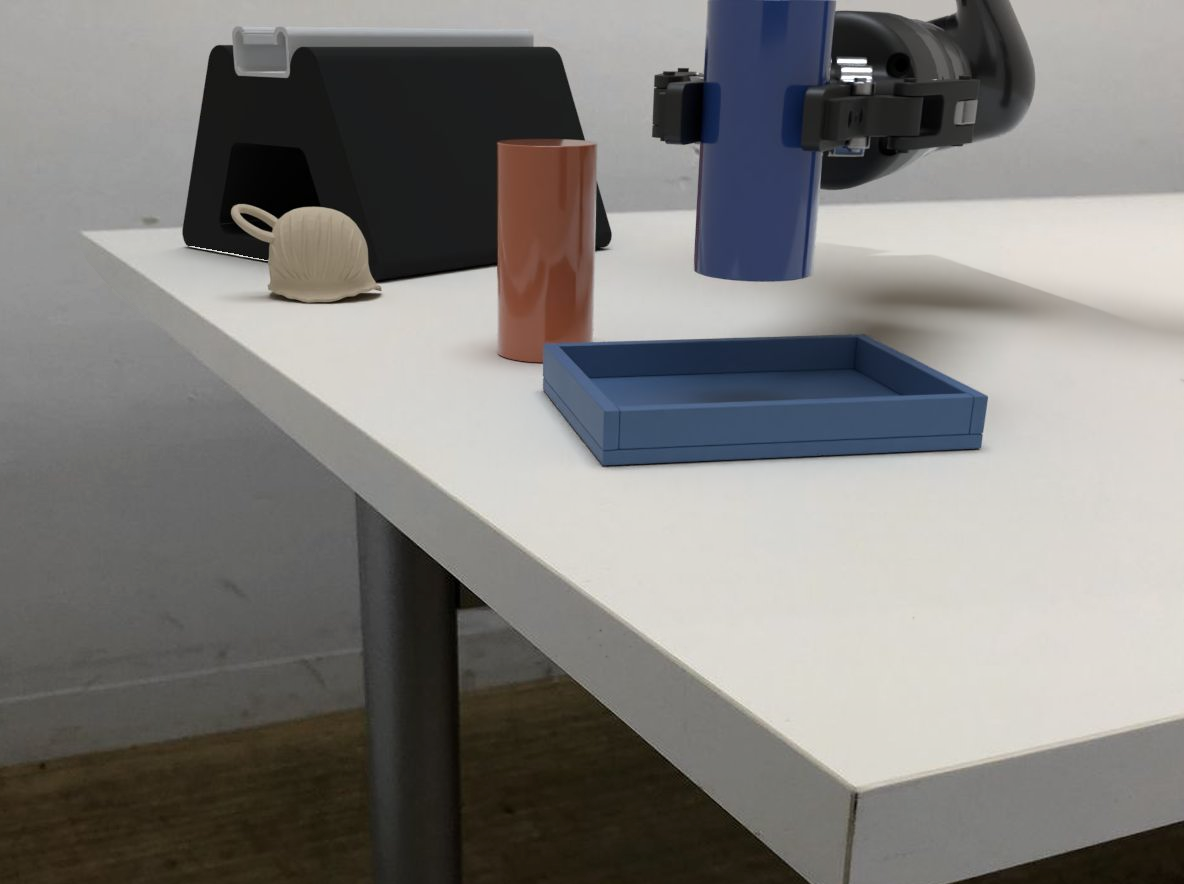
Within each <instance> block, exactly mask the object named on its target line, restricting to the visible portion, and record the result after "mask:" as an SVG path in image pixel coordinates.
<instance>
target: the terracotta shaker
mask: <svg viewBox="0 0 1184 884" xmlns="http://www.w3.org/2000/svg"><path fill="white" fill-rule="evenodd" d="M597 173H598V143H597V142H596V141H591V140H585V141H583V140H567V139H517V140H504V141H499V142H497V263H496V287H497V288H496V289H497V292H496V293H497V298H496V301H497V303H496V304H497V305H496V306H497V307H496V309H497V310H496V311H497V313H496V314H497V315H496V316H497V317H496V318H497V325H496V326H497V327H496V329H497V354H498V355H499V356H501V357H503V358H505V359H508V360H514V361H520V362H528V363H542V364H543V344H546V343H556V344H557V343H580V342H594V313H595V311H594V309H595V275H596V274H595V271H596V270H595V269H596V266H595V265H596V249H595V230H596V185H597V183H598V179H597V178H598V174H597Z"/></svg>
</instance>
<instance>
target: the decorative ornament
mask: <svg viewBox="0 0 1184 884" xmlns="http://www.w3.org/2000/svg"><path fill="white" fill-rule="evenodd" d="M240 213H247V214H250V215H252V216H255V217H257V218H259V219H261V220H263V221H264V222H266V223H267V224H268V225H270V226H271V227H272V228H273V231H272V233H271V232H267V231H264V230H261V229H259V228H257V227H255V226H253V225H252V224H250V223H249V222H247V221H246V220H245V219H244V218H243V217H242V216H241V215H240ZM231 215H232V218H233V220H234V221H235V222H236V223H237V224H238V226H240V227H241V228H242V229H243V230H244V231H246V232H247V233H249V234H250V235H252V236H254V237H256V238H258V239H260V240H262V241H265V242H269V243H270V246H269V259H268V262H267V265H268V266H269V267H268V268H269V269H268V270H269V277H270V278H269V284H267V289H268V291H270V292H272V293H274V294H276V295H280V296H283V297H285V298H287V299H290V300H297V301H300V302H303V303H331V302H337V301H339V300H342V299H344V298H349V297H355V296H358V295H359V294H361V293H368V292H371V291H378V292H382V286H381V285H379V284H378V283H377V281H374V279H373V278H372V275H371V273H370V270H369V265H368V248H367V244H366V241H365V238H364V236H363V234H362V232H361V231H360V229H359V228H358V226H357V225H356V223H355V222H354V221H353V220H352V219H351V218H349V217H348V216H346V215H345V214H343V213H341V212H339V211H336V210H334V209H329V208H324V207H302V208H297V209H293V210H291V211H289V212H287V213H286V214H284V215H283V216H282V217H281V218H280V219H277V218H276V217H274V216H273V215H271V214H269V213H268V212H266V211H264V210H262V209H259V208H257V207H254V206H251V205H246V204H238V205H235V206H234V207H233V208H232V210H231Z"/></svg>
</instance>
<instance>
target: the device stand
mask: <svg viewBox="0 0 1184 884" xmlns="http://www.w3.org/2000/svg"><path fill="white" fill-rule="evenodd" d="M231 37H232V44H216V45H214V46H213V48H212V49H211V50H210V53H209V55H208V60H207V68H206V73H205V79H204V86H203V93H202V99H201V104H200V105H201V106H200V113H199V119H198V125H197V132H196V137H195V138H196V139H195V145H194V151H193V159H192V164H191V172H190V178H189V185H188V191H187V197H186V204H185V210H184V211H185V212H184V216H183V224H182V229H181V230H182V232H181V235H182V240H183V242H184V244H185V245H186V246H187V245H188V246H195V247H200V248H206V249H212V250H217V251H222V252H228V253H234V254H239V255H243V256H248V257H253V258H259V259H264V260H268V259H269V246H270V243H269V242H265V241H262V240H260V239H258V238H256V237H254V236H252V235H250V234H249V233H247V232H246V231H244V230H243V229H242V228H241V227H240V226H238V224H237V223H236V222H235V221H234V220H233V218H232V215H231V210H232V208H233V207H234V206H235V205H238V204H246V205H251V206H254V207H257V208H259V209H262V210H264V211H266V212H268V213H269V214H271V215H273V216H274V217H276V218H277V219H280V218H281V217H282V216H283V215H284V214H286V213H287V212H289V211H291V210H293V209H297V208H302V207H324V208H329V209H334V210H336V211H339V212H341V213H343V214H345V215H346V216H348V217H349V218H351V219H352V220H353V221H354V222H355V223H356V225H357V226H358V228H359V229H360V231H361V232H362V234H363V236H364V238H365V241H366V244H367V248H368V265H369V270H370V273H371V275H372V278H373V279H374V281H375V282H377V281H383V280H391V279H398V278H404V277H412V276H417V275H418V274H419V275H424V274H431V273H432V274H433V273H439V272H445V270H446V271H452V269H453V270H459V268H460V269H466V268H471V267H472V268H473V267H479V266H485V265H486V266H487V265H492V264H497V142H499V141H504V140H517V139H567V140H583V141H586V139H585V134H584V130H583V128H582V125H581V121H580V117H579V114H578V109H577V107H576V103H575V101H574V100H575V99H574V97H573V92H572V90H571V85H570V83H569V79H568V75H567V72H566V68H565V65H564V62H563V58H562V56H561V54H560V52H559V51H558V50H557V49H555V48H554V47H552V46H535V44H534V43H535V42H534V41H535V40H534V33H533V32H532V30H531V29H529V28H527V29H523V28H522V29H519V28H510V29H509V28H439V27H437V28H434V27H433V28H431V27H429V28H427V27H351V26H350V27H348V26H347V27H345V26H344V27H343V26H342V27H341V26H336V27H335V26H239V25H237V26H235V27H233V28H232V33H231ZM240 215H241V216H242V217H243V218H244V219H245V220H246V221H247V222H249V223H250V224H252V225H253V226H255V227H257V228H259V229H261V230H264V231H267V232H271V233H272V231H273V228H272V227H271V226H270V225H268V224H267V223H266V222H264V221H263V220H261V219H259V218H257V217H255V216H252V215H250V214H247V213H240ZM612 236H613V233H612V228H611V225H610V221H609V217H608V215H607V211H606V208H605V204H604V201H603V197H602V194H601V190H600V186H599V183H598V182H597V185H596V230H595V250H596V249H602V248H607V247H608V246H609V245H610V244H611V241H612ZM188 246H187V247H188ZM411 275H412V276H411Z"/></svg>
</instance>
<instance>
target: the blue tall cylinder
mask: <svg viewBox="0 0 1184 884" xmlns="http://www.w3.org/2000/svg"><path fill="white" fill-rule="evenodd" d="M836 11H837V0H707V1H706V20H705V21H706V22H705V38H704V58H703V73H704V75H703V94H702V113H701V132H700V144H699V151H698V152H699V155H698V174H697V188H696V189H697V190H696V191H697V192H696V211H695V212H696V213H695V229H694V231H695V232H694V250H693V267H692V269H693V271H694V273H696V274H698V275H700V276H704V277H707V278H713V279H718V280H727V281H737V282H753V283H754V282H757V283H760V282H761V283H763V282H764V283H767V282H769V283H770V282H772V283H773V282H775V283H776V282H791V281H797V280H798V281H799V280H803V279H807V278H810V277H811V276H812V275H813V273H814V264H815V254H816V244H817V243H816V242H817V230H818V220H819V207H820V197H821V189H820V186H821V174H822V163H823V152H813V151H803V150H802V147H801V134H802V122H803V110H804V99H805V94H806V91H807V89H808V88H809V87H816V86H824V85H829V82H830V71H831V59H832V48H833V36H834V25H835V13H836Z"/></svg>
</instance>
